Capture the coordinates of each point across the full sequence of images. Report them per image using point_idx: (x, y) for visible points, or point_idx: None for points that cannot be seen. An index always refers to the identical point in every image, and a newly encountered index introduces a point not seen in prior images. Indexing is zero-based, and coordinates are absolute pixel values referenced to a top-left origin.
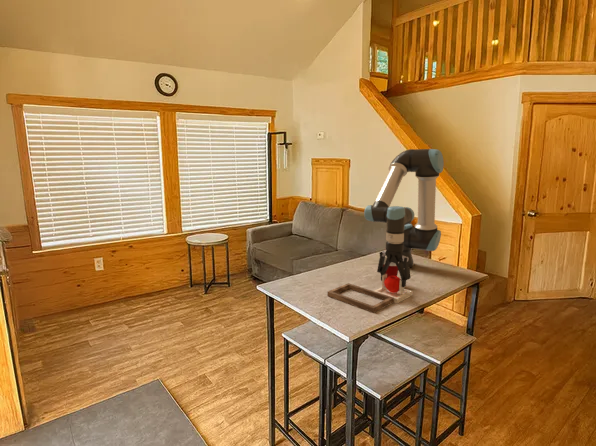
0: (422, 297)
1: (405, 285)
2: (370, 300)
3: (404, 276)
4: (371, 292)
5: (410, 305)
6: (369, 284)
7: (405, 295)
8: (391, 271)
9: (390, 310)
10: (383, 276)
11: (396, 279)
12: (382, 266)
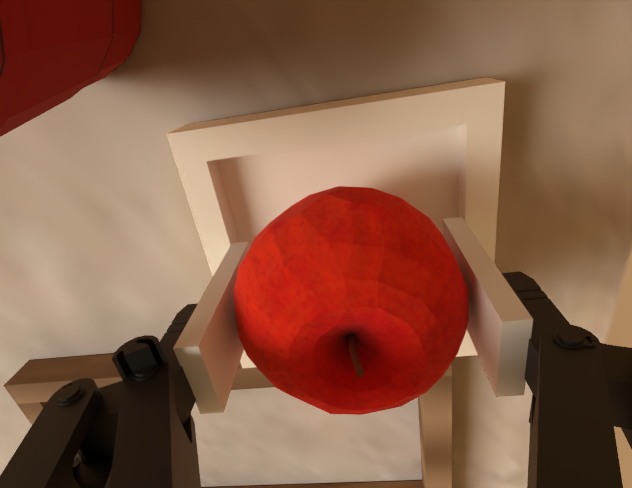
0: (614, 25)
1: (534, 290)
2: (310, 407)
3: (569, 376)
4: (251, 384)
5: (584, 285)
6: (21, 196)
7: (493, 229)
8: (30, 81)
9: (502, 426)
10: (223, 400)
11: (427, 381)
12: (65, 485)
